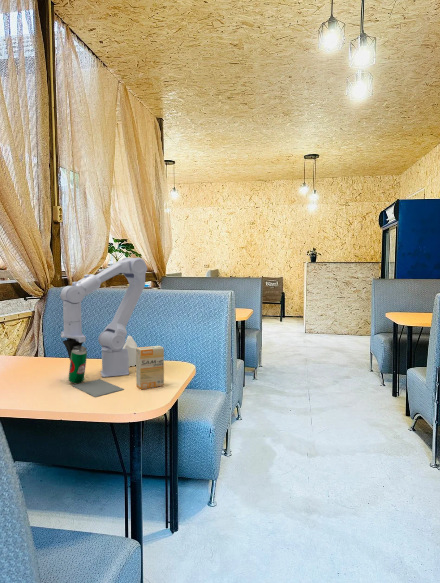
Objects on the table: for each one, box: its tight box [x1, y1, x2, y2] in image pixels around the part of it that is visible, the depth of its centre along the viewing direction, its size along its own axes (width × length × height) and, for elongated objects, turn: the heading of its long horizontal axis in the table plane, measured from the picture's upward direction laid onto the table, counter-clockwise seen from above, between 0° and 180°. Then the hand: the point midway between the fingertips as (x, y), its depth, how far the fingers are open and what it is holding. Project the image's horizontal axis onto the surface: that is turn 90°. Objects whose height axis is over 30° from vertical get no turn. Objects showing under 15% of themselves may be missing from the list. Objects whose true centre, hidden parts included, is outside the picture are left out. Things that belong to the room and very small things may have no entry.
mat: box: [71, 378, 125, 398], centre depth 130 cm, size 16×10×1 cm, turn 45°
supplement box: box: [135, 345, 165, 390], centre depth 131 cm, size 8×5×13 cm, turn 118°
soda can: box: [67, 345, 88, 384], centre depth 134 cm, size 5×5×12 cm
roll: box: [122, 334, 138, 368], centre depth 158 cm, size 6×12×6 cm
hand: (73, 360), depth 136 cm, fingers closed
